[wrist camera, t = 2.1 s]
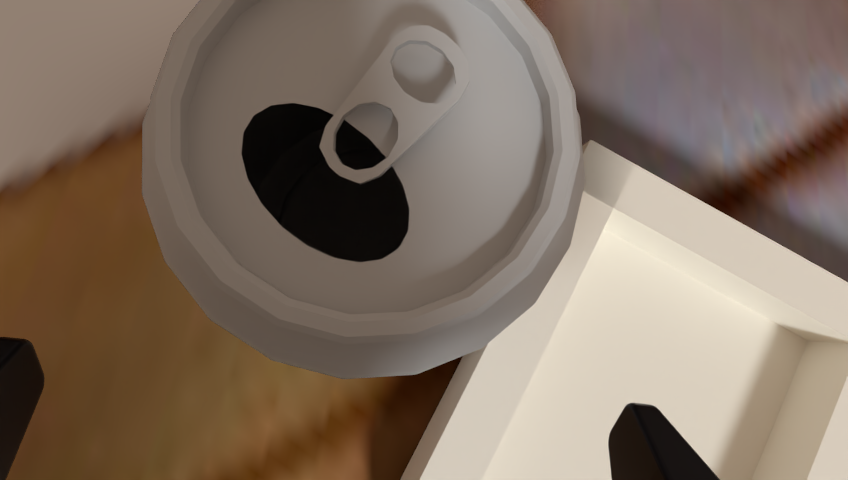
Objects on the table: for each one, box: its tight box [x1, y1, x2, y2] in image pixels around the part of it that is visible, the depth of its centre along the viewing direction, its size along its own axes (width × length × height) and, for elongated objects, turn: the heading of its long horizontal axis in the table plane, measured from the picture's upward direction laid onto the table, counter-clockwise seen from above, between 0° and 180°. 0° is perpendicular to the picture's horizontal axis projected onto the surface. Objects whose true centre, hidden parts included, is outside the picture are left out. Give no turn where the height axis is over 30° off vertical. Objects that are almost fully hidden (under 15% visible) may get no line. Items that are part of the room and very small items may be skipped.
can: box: [142, 0, 585, 379], centre depth 14 cm, size 8×8×12 cm
